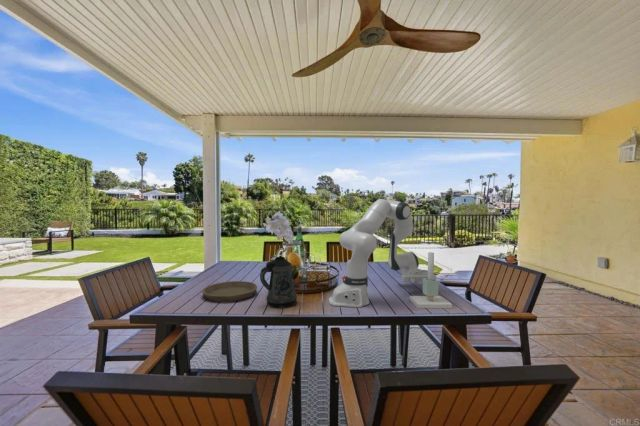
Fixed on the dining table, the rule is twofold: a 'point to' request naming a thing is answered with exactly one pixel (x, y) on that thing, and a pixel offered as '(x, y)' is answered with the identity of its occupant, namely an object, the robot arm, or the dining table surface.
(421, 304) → the post stand
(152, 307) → the dining table surface
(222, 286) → the plant saucer
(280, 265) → the beer stein
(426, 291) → the sleeve
